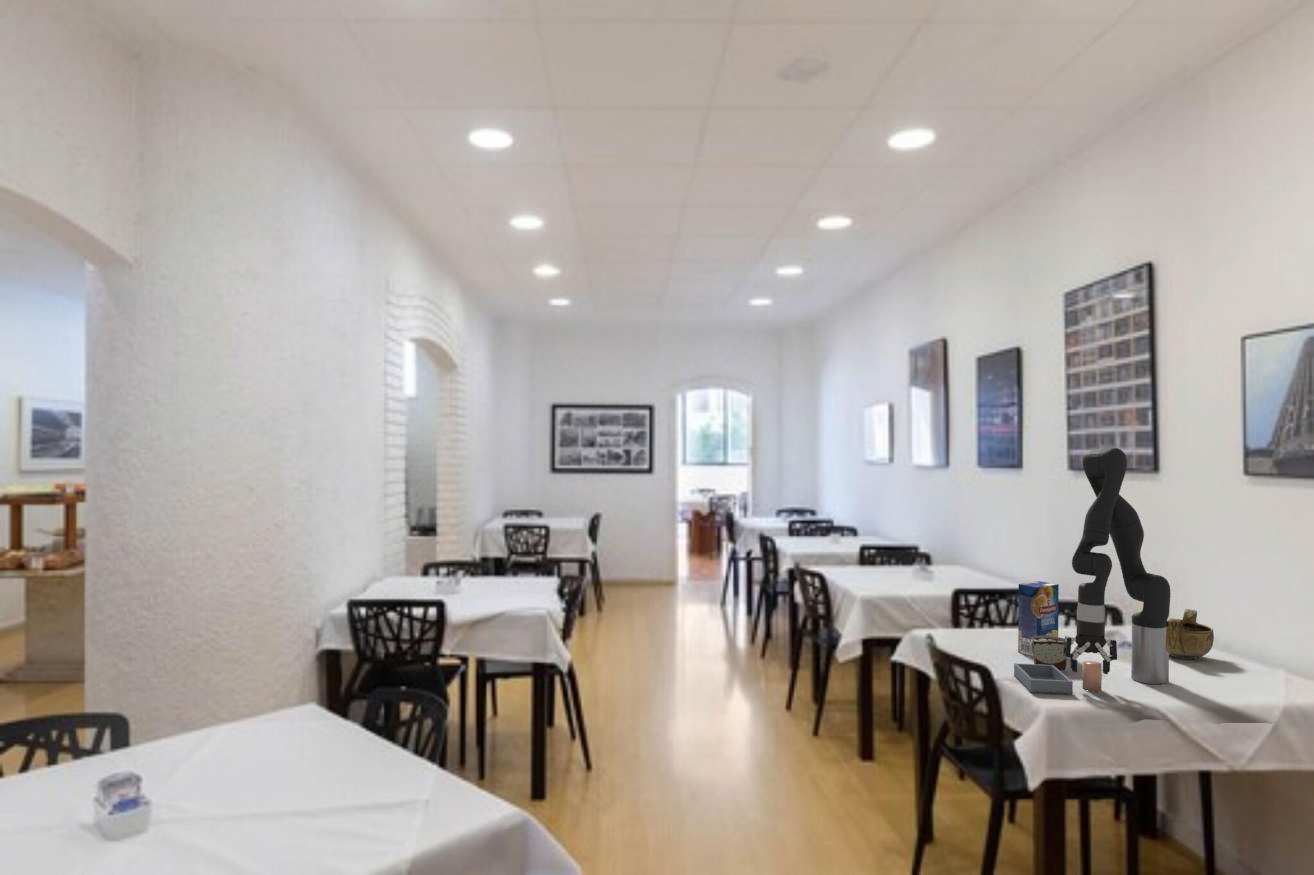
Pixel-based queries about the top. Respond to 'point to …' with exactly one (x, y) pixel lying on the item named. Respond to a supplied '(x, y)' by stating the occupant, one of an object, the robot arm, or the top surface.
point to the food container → (1049, 651)
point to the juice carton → (1036, 613)
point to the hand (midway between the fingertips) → (1089, 672)
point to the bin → (1043, 679)
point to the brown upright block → (1092, 676)
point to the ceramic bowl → (1188, 637)
